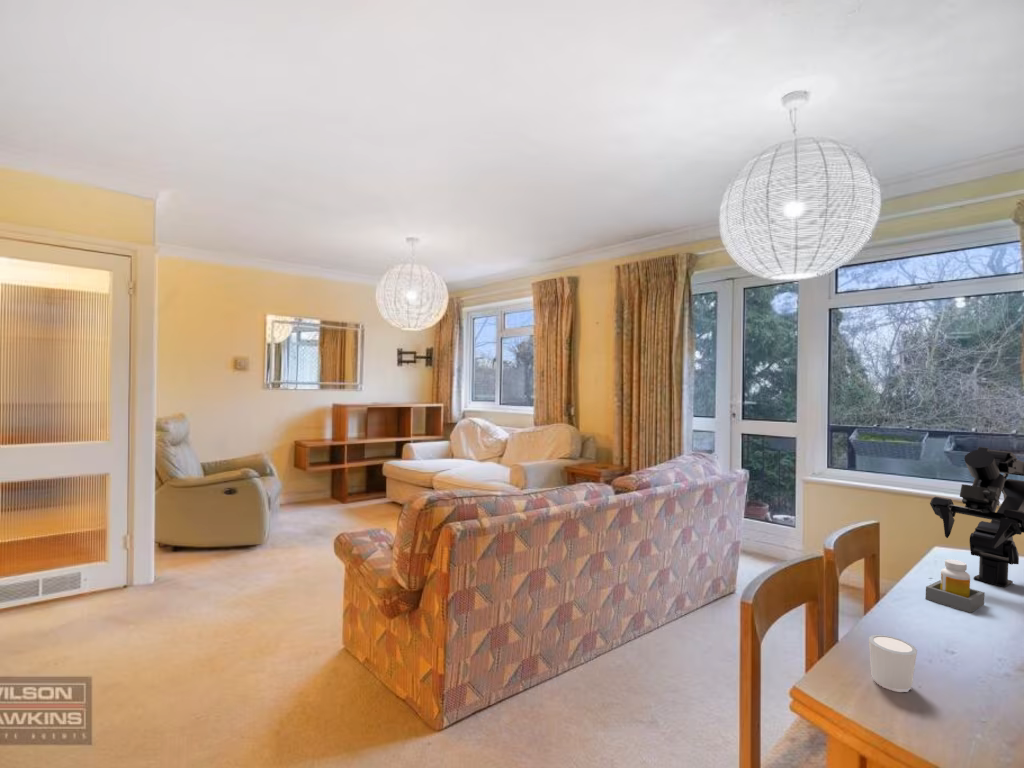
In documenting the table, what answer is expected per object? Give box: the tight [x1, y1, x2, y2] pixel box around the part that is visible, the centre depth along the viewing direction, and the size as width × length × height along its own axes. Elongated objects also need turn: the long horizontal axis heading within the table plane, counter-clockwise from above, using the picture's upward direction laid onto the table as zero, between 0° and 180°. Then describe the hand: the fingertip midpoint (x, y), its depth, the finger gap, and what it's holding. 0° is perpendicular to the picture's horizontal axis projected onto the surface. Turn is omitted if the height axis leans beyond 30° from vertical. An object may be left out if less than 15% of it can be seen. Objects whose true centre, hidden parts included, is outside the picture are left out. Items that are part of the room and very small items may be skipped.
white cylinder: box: [868, 634, 918, 689], centre depth 91 cm, size 7×7×7 cm
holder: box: [925, 579, 985, 614], centre depth 126 cm, size 9×9×3 cm
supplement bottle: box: [940, 559, 971, 598], centre depth 126 cm, size 5×5×10 cm
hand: (969, 542), depth 130 cm, fingers open, 9 cm apart
